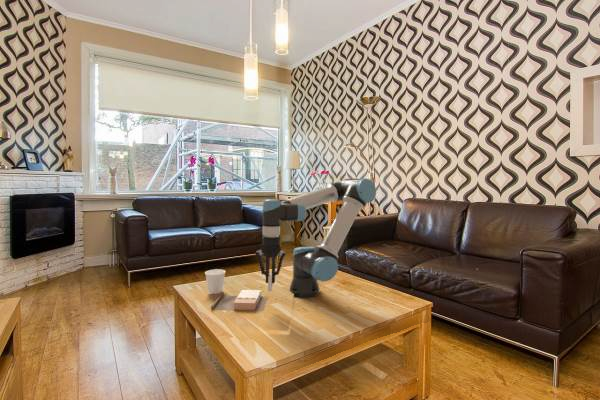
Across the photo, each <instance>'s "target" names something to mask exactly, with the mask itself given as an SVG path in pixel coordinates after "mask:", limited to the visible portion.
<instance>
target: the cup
mask: <svg viewBox="0 0 600 400" xmlns="http://www.w3.org/2000/svg"><path fill="white" fill-rule="evenodd" d="M204 274H205V278H206V284H207V290H208V295H209V296H211V295H213V294H214V295H216V294H220V293H221V294H222V292H223V289H224V288H223V287H224V282H225V275H226V270H224V269H222V268H220V269H218V268H215V269H210V270H209V269H208V270H206V271H204Z"/></svg>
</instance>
